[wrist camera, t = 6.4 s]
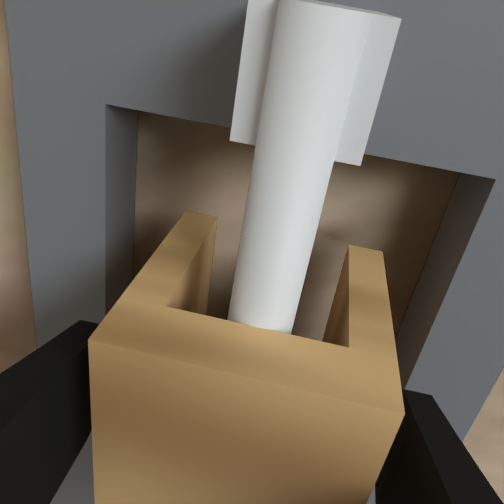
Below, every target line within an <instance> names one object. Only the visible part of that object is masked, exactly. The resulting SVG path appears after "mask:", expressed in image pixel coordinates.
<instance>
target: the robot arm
mask: <svg viewBox="0 0 504 504" xmlns="http://www.w3.org/2000/svg"><path fill="white" fill-rule="evenodd" d="M98 326H99V324H98V323H93V322H89V321H84V320H79V321H78V322H76V323H75V324H73V325H72V326H70V327H69V328H67V329H66V330H64V331H63V332H61V333H60V334H58V335H57V336H55V337H54V338H53V339H51V340H50V341H48V342H47V343H45V344H44V345H42V346H41V347H40V348H38V349H37V350H35V351H34V352H32V353H31V354H29V355H28V356H26V357H25V358H23V359H22V360H21V361H19V362H17V363H16V364H14V365H13V366H11V367H10V368H8V369H7V370H5V371H4V372H2V373H1V374H0V504H50V503H51V501H52V499H53V498H54V496H55V494H56V492H57V491H58V489H59V487H60V486H61V484H62V482H63V481H64V479H65V477H66V475H67V474H68V472H69V470H70V469H71V467H72V465H73V463H74V462H75V460H76V458H77V456H78V455H79V453H80V451H81V449H82V448H83V446H84V444H85V442H86V441H87V439H88V437H89V435H90V433H91V430H92V426H91V401H90V377H89V352H88V339H89V337H90V336H91V335H92V334H93V332H94V331H95V330H96V328H97V327H98ZM402 395H403V403H404V410H405V415H404V418H403V420H402V422H401V425H400V427H399V429H398V432H397V434H396V436H395V439H394V441H393V443H392V446H391V448H390V450H389V453H388V455H387V457H386V460H385V462H384V464H383V467H382V469H381V471H380V474H379V476H378V478H377V481H376V483H375V503H376V504H503V502H502V501H501V500H500V498H499V497H498V495H497V494H496V492H495V491H494V489H493V488H492V486H491V485H490V484H489V482H488V481H487V479H486V478H485V476H484V475H483V473H482V472H481V470H480V469H479V467H478V466H477V464H476V463H475V461H474V460H473V458H472V457H471V455H470V454H469V452H468V451H467V449H466V448H465V446H464V445H463V443H462V441H461V440H460V438H459V437H458V435H457V434H456V432H455V431H454V429H453V428H452V426H451V424H450V423H449V421H448V420H447V418H446V417H445V415H444V413H443V412H442V410H441V409H440V407H439V406H438V404H437V403H436V401H435V399H434V398H433V396H432V395H429V394H424V393H420V392H415V391H410V390H406V389H402Z"/></svg>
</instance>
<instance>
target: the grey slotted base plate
mask: <svg viewBox="0 0 504 504" xmlns="http://www.w3.org/2000/svg"><path fill="white" fill-rule="evenodd" d="M4 4H5V15H6V25H7V36H8V47H9V57H10V68H11V79H12V90H13V100H14V111H15V122H16V132H17V143H18V154H19V165H20V175H21V186H22V197H23V208H24V218H25V229H26V240H27V250H28V261H29V272H30V283H31V293H32V304H33V315H34V325H35V336H36V347H37V349H38V348H40V347H41V346H42V345H44V344H45V343H47V342H48V341H50V340H51V339H53V338H54V337H55V336H57V335H58V334H60V333H61V332H63V331H64V330H66V329H67V328H69V327H70V326H72V325H73V324H75V323H76V322H78V321H79V320H84V321H89V322H93V323H98V324H100V323H101V322H102V320H103V319H104V318H105V316H106V315H107V314H108V312H109V311H110V310H111V309H112V307H113V306H114V305H115V303H116V302H117V301H118V299H119V298H120V297H121V295H122V294H123V293H124V291H125V290H126V289H127V287H128V286H129V285H130V284H131V282H132V275H133V246H134V216H135V187H136V158H137V129H138V110H139V111H144V112H149V113H155V114H160V115H165V116H170V117H175V118H181V119H186V120H191V121H196V122H201V123H207V124H212V125H217V126H222V127H227V128H231V134H230V141H234V142H239V143H244V144H249V145H254V146H255V151H254V158H253V164H252V170H251V176H250V182H249V189H248V195H247V201H246V207H245V213H244V220H243V226H242V232H241V238H240V244H239V251H238V257H237V263H236V269H235V275H234V282H233V288H232V294H231V300H230V306H229V313H228V319H227V320H229V321H233V322H237V323H242V324H246V325H251V326H254V327H258V328H264V329H269V330H273V331H277V332H282V333H286V334H291V332H292V328H293V324H294V320H295V316H296V312H297V308H298V304H299V300H300V296H301V292H302V288H303V284H304V280H305V276H306V272H307V268H308V264H309V260H310V256H311V252H312V248H313V244H314V240H315V236H316V232H317V228H318V224H319V220H320V216H321V212H322V208H323V204H324V200H325V196H326V192H327V188H328V184H329V180H330V176H331V172H332V168H333V164H334V161H337V162H342V163H347V164H352V165H357V166H361V162H362V159H363V155H364V154H367V155H373V156H378V157H383V158H388V159H393V160H399V161H404V162H409V163H414V164H419V165H425V166H430V167H435V168H440V169H445V170H451V171H456V172H461V173H460V176H459V178H458V181H457V183H456V186H455V188H454V191H453V193H452V196H451V198H450V201H449V204H448V206H447V209H446V211H445V214H444V216H443V219H442V221H441V224H440V226H439V229H438V232H437V234H436V237H435V239H434V242H433V244H432V247H431V249H430V252H429V254H428V257H427V260H426V262H425V265H424V267H423V270H422V272H421V275H420V277H419V280H418V283H417V285H416V288H415V290H414V293H413V295H412V298H411V300H410V303H409V305H408V308H407V311H406V313H405V316H404V318H403V321H402V323H401V326H400V328H399V331H398V333H397V336H396V339H395V345H396V352H397V359H398V366H399V374H400V381H401V388H402V389H406V390H410V391H415V392H420V393H424V394H429V395H432V396H433V398H434V399H435V401H436V403H437V404H438V406H439V407H440V409H441V410H442V412H443V413H444V415H445V417H446V418H447V420H448V421H449V423H450V424H451V426H452V428H453V429H454V431H455V432H456V434H457V435H458V437H459V438H460V440H461V441H463V440H464V438H465V436H466V434H467V432H468V431H469V429H470V427H471V425H472V424H473V422H474V420H475V418H476V416H477V415H478V413H479V411H480V409H481V408H482V406H483V404H484V402H485V400H486V399H487V397H488V395H489V393H490V391H491V390H492V388H493V386H494V384H495V383H496V381H497V379H498V377H499V375H500V374H501V372H502V370H503V368H504V0H4ZM51 504H95V500H94V475H93V451H92V430H91V433H90V435H89V437H88V439H87V441H86V442H85V444H84V446H83V448H82V449H81V451H80V453H79V455H78V456H77V458H76V460H75V462H74V463H73V465H72V467H71V469H70V470H69V472H68V474H67V475H66V477H65V479H64V481H63V482H62V484H61V486H60V487H59V489H58V491H57V492H56V494H55V496H54V498H53V499H52V501H51ZM367 504H376V503H375V485H374V488H373V490H372V492H371V495H370V497H369V499H368V502H367Z"/></svg>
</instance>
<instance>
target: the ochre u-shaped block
mask: <svg viewBox="0 0 504 504" xmlns="http://www.w3.org/2000/svg"><path fill="white" fill-rule="evenodd" d="M217 218H218V217H213V216H208V215H203V214H198V213H194V212H189V211H185V213H184V214H183V215H182V216H181V218H180V219H179V220H178V222H177V223H176V224H175V226H174V227H173V228H172V230H171V231H170V232H169V234H168V235H167V236H166V238H165V239H164V240H163V241H162V243H161V244H160V245H159V247H158V248H157V249H156V251H155V252H154V253H153V255H152V256H151V257H150V259H149V260H148V261H147V262H146V264H145V265H144V266H143V268H142V269H141V270H140V272H139V273H138V274H137V276H136V277H135V278H134V280H133V281H132V282H131V284H130V285H129V286H128V287H127V289H126V290H125V291H124V293H123V294H122V295H121V297H120V298H119V299H118V301H117V302H116V303H115V305H114V306H113V307H112V309H111V310H110V311H109V312H108V314H107V315H106V316H105V318H104V319H103V320H102V322H101V323H100V324H99V326H98V327H97V328H96V330H95V331H94V332H93V334H92V335H91V336H90V337H89V339H88V352H89V377H90V401H91V426H92V451H93V475H94V500H95V504H367V502H368V499H369V497H370V495H371V492H372V490H373V488H374V485H375V483H376V481H377V478H378V476H379V474H380V471H381V469H382V467H383V464H384V462H385V460H386V457H387V455H388V453H389V450H390V448H391V446H392V443H393V441H394V439H395V436H396V434H397V432H398V429H399V427H400V425H401V422H402V420H403V418H404V415H405V410H404V403H403V395H402V388H401V381H400V374H399V366H398V359H397V352H396V345H395V337H394V330H393V323H392V316H391V309H390V301H389V294H388V287H387V280H386V272H385V265H384V258H383V251H378V250H373V249H368V248H363V247H358V246H354V245H349V246H348V249H347V253H346V257H345V260H344V264H343V267H342V271H341V275H340V278H339V282H338V286H337V289H336V293H335V297H334V300H333V304H332V307H331V311H330V315H329V318H328V322H327V326H326V329H325V333H324V337H323V340H322V341H317V340H313V339H309V338H304V337H300V336H295V335H291V334H286V333H282V332H277V331H273V330H269V329H264V328H258V327H254V326H251V325H246V324H242V323H237V322H233V321H229V320H224V319H220V318H215V317H211V316H206V314H207V305H208V296H209V288H210V279H211V270H212V262H213V253H214V244H215V235H216V227H217Z"/></svg>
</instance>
